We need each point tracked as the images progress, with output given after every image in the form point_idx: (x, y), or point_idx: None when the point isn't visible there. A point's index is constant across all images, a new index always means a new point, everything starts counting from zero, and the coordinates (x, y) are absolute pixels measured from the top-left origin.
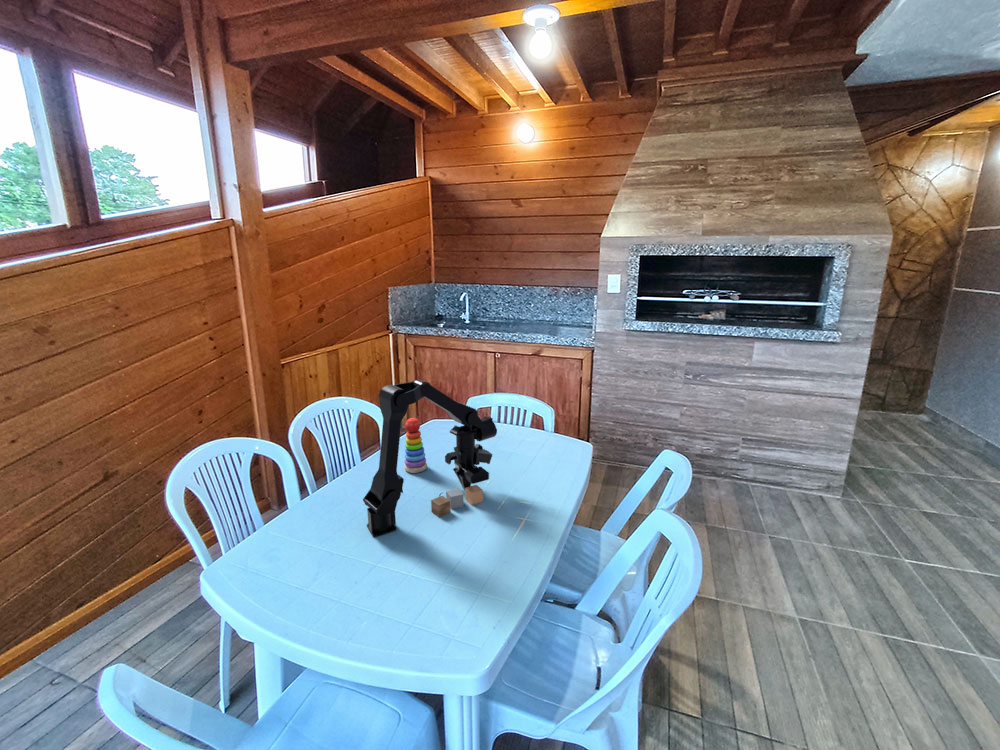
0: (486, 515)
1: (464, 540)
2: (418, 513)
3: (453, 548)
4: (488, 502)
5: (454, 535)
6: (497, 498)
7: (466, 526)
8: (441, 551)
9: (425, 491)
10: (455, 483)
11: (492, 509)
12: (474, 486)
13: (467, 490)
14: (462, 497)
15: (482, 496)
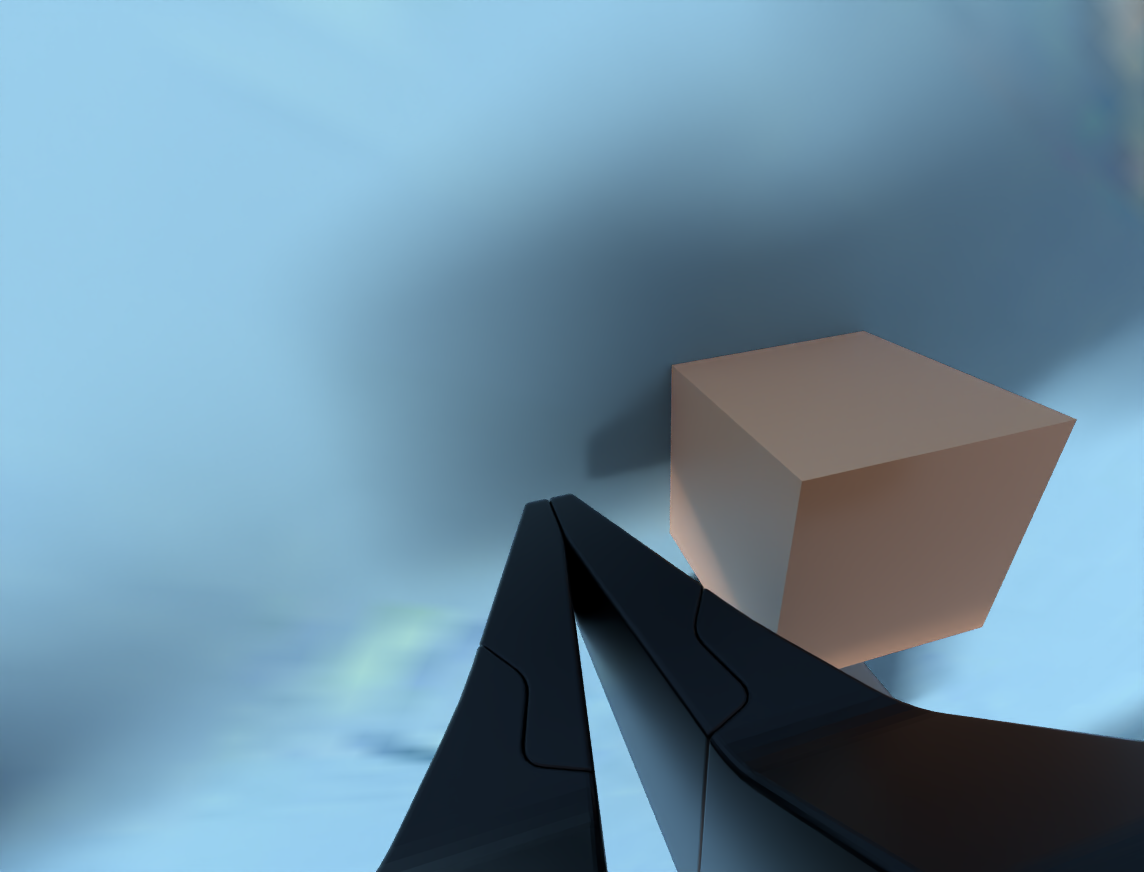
0: (1104, 400)
1: (1140, 627)
2: (667, 851)
3: (1127, 682)
4: (940, 259)
5: (1053, 672)
6: (969, 21)
7: (1054, 597)
8: (1087, 729)
9: (281, 864)
10: (64, 581)
11: (1095, 283)
12: (839, 536)
13: (853, 655)
14: (861, 676)
15: (937, 369)
